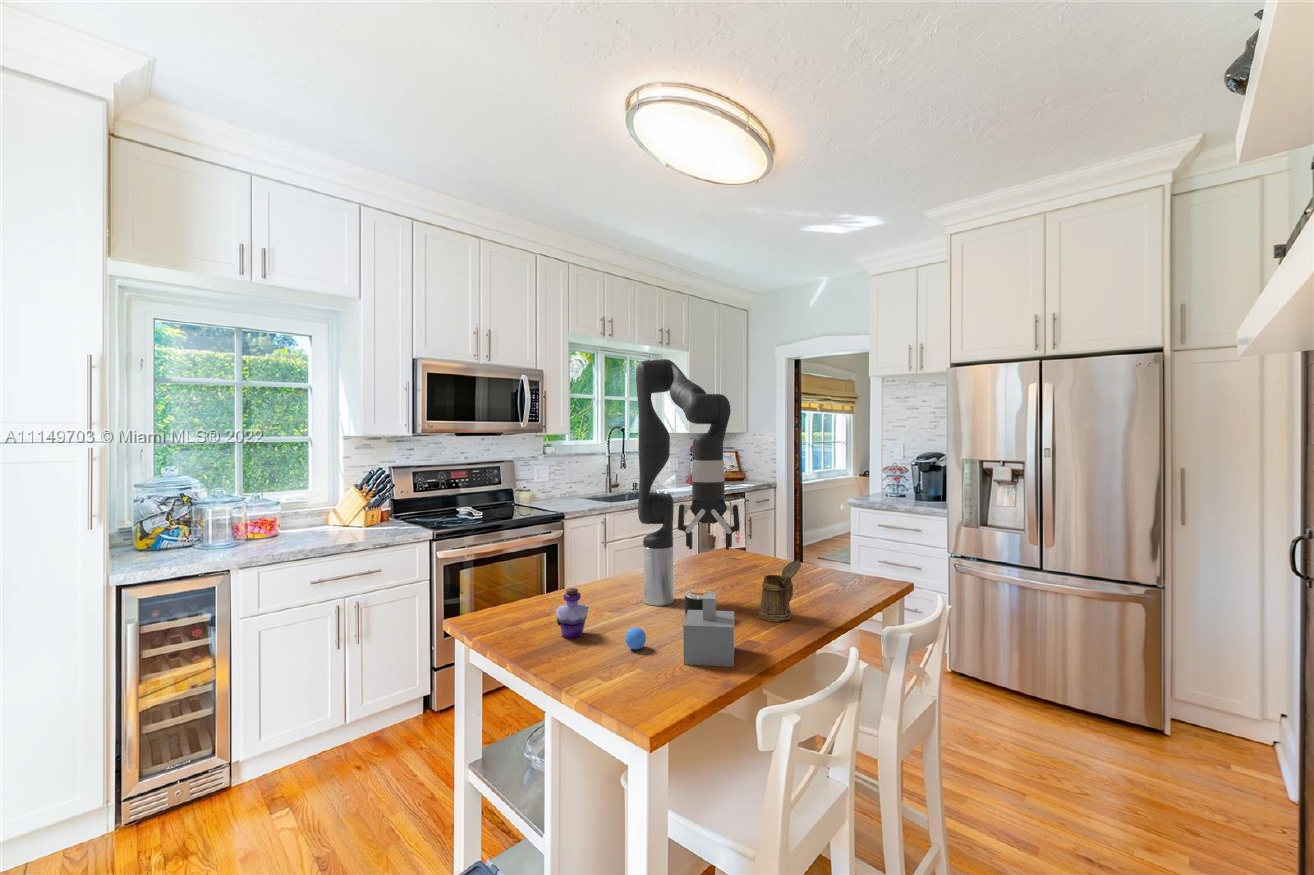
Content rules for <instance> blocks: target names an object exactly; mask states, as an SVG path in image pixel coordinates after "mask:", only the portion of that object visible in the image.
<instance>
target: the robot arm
mask: <svg viewBox="0 0 1314 875" xmlns="http://www.w3.org/2000/svg"><path fill="white" fill-rule="evenodd" d="M635 381H636V383H635V384H636V395H637V397H636V398H637V406H638V407H637V408H638V438H637V440H638V441H637V442H638V443H637V444H638V470H639V474H638V475H639V479H638V480H639V484H638V501H637V502H638V504H637V514H638V520H639V522H640V523H641V524H642V525H662V526H661V527H660V528H659V529H658V530H657V531H654V532H652V533H650V534H647V535H645V536H643V539H642V542H643V543H642V546H643V547H642V548H643V556H642V557H643V558H642V559H643V562H642V563H643V603H644V604H645V605H649V606H657V607H660V606H666V605H670V604H671V605H672V604H673V603H674V600H675V599H674V598H675V596H674V591H675V590H674V586H675V585H674V508H675V506H674V505H675V504H674V498H673V496H672V495H671V494H670V493H650V491H651V489H652V486H653V484H654V482H655V480H656V479H657V477H658V475H659V474H660V473H661V472H662V471H663V469H664V467H665V466H666V464H667V462H668V461H669V458H670V452H671V451H670V450H671V438H670V434H669V431H668V429H667V427H666V425H665V424H664V422H663V421H662V420H661V418H660V417H659V416H658V414H657V411H656V410H655V409H654V406H653V401H652V400H653V399H652V394H658V393H666V392H669V395H670V399H671V401H672V402H673V403H674V404H675V405H676V406H677V407H679V408H681V410H682V411H683V413H684V416H685V418H686V420H687V421H688V422H690V423H692V424H696V425H710V426H709V429H708V430H707V432H705V433H702V434H698V435H695V436H694V438H693V440H692V469H691V480H692V481H691V482H692V484H691V492H692V496H691V497H692V498H691V499H692V501H691V504H685V503H680V504H679V506H678V515H677V530H678V531H682V532H684V534H685V545H686V547H688V550H693V545H694V544H693V542H694V541H693V531H692V530H693V529H694V528H695V526H696V525H697V524H698V523H701V524H713V525H714V524H717V523H719V525H720V526H721V527H722V528H723V530H724V531H725V550H726V551H729V550H730V548H732V547H733V546H732V545H733V533H735V532H738V531H740V526H741V525H740V517H739V516H740V514H739V505H738V503H734V504H729V505H728V504H726V502H725V497H726V496H725V495H726V493H725V466H724V440H725V436H726V432H727V428H728V423H729V420H730V417H731V410H732V409H731V403H730V401H729V399H728V397H727V396H725V395H724V394H720V393H707V392H706V391H705V389H704V388H703V387H701V386H700V385H698V384H696V383H695V382H693V381H692V380H690V379H689V378H688V377H687V375H685V374H684V373H683V371H682V370H681V369H680V368H679V367H678V366H677V364H675V362H673V361H672V360H670V359H667V358H666V359H665V358H664V359H663V358H662V359H661V358H660V359H650V360H649V359H648V360H643V361H642V360H641V361H640V362H638V363H637V366H636V371H635ZM689 510H690V512H692V514H693V515H694V516H693V519H692V520H691V521H690V523H689V524H688V525H686V524H685V515H686V514H688V513H689V512H688V511H689ZM727 511H728V512H729V514H730V515H732V517H733V525H731V526H730V524H729V523H728V521H727V520H726V519H725V518H724V514H725V513H726V512H727Z"/></svg>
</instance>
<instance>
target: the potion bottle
mask: <svg viewBox="0 0 1314 875" xmlns="http://www.w3.org/2000/svg"><path fill="white" fill-rule="evenodd" d="M581 596H582V595H581V592H579V589H578V588H576V587H569V588H567V589H566V590H565V593H564V594H563V601H565V602H566V604H564V605H559V606H558V607H557V608H556V609H555V615H556V623H557V625H558V626H559V627H560V632H561V637H563V639H566V640H575V639H579V638H583V635H584V630H585V629H584V628H585V624H586V620H587V619H588V613H589V608H590V607H589V606H587V605H586V604H583V603H579V601H580V600H581Z"/></svg>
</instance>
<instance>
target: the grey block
mask: <svg viewBox="0 0 1314 875" xmlns="http://www.w3.org/2000/svg"><path fill="white" fill-rule="evenodd" d="M682 628H683V629H682V630H683V632H682V633H683V634H682V635H683V636H682V637H683V665H688V666H689V665H691V666H692V665H693V666H710V667H729V668H735V611H732V610H731V611H730V610H729V611H728V610H717V595H703V610H688V611H687V615H686V618H685V617H684V622H683V627H682Z"/></svg>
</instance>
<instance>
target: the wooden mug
mask: <svg viewBox="0 0 1314 875" xmlns="http://www.w3.org/2000/svg"><path fill="white" fill-rule="evenodd" d="M801 567H802V562H801V561H800V559H798V558H796V559H795V560H793V561H791V562H790V563H789V564H787V565H785V567H784V568H783V569H782V571H781V575H780V574H767V575H764V578H763V581H762V585H761V586H762V590H761V591H762V592H761V598H760V599H761V600H760V607H759V609H758V610H759V611H758V618H759V619H761V620H763V621H768V622H771V621H772V623H774V622H775V623H782V621H784V622H787V621H790V620H791V619H792V616H793V615H792V610H791V607H790V603H791V600H792V597H793V594H794V584H793V582H792V578H793V577H794V576H795V575H797V573H799V571H800V569H801Z"/></svg>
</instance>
